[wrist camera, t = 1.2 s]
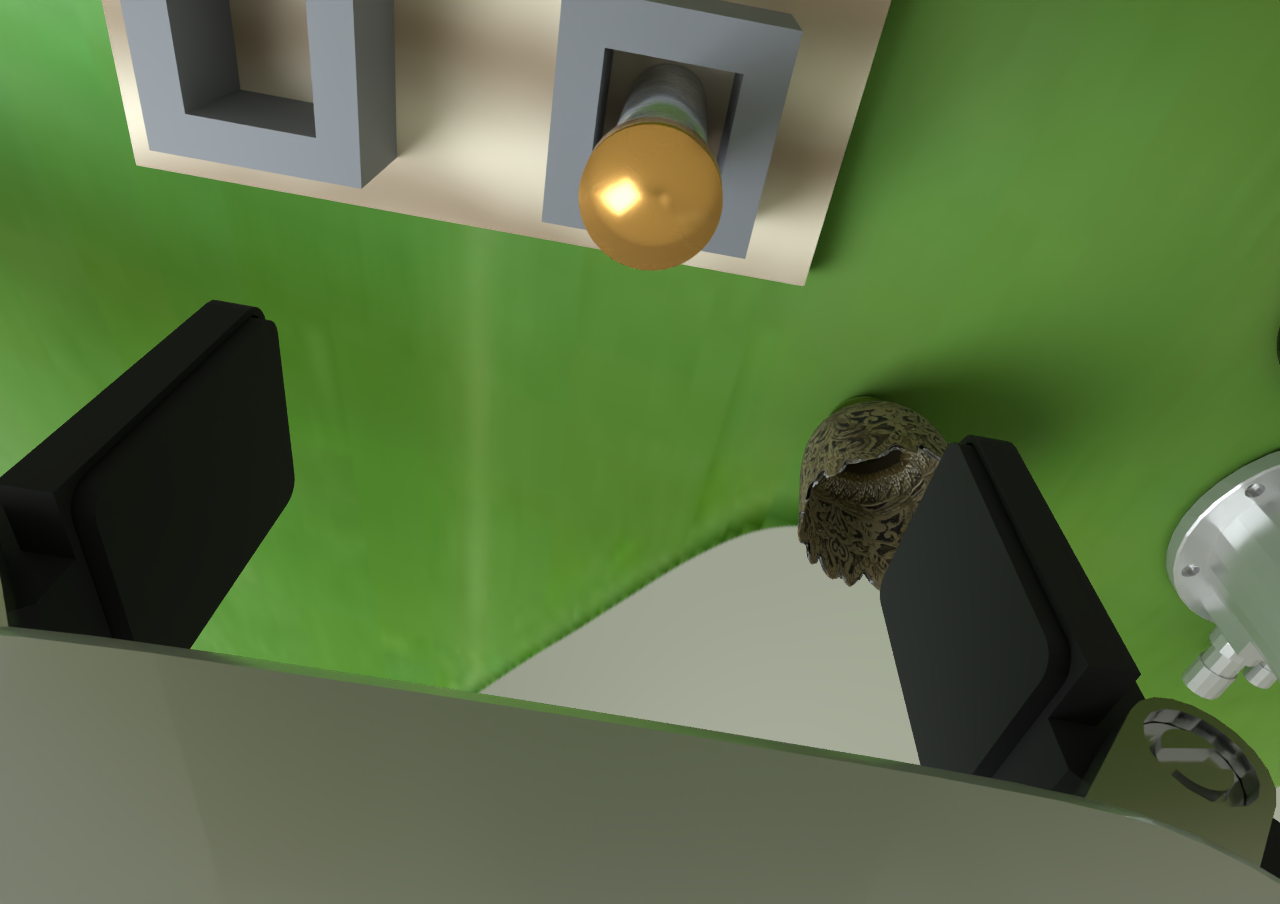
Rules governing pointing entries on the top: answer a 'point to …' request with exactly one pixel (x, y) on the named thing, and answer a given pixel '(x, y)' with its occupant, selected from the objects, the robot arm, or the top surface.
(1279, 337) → the ink bottle
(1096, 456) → the top surface
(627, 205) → the pin
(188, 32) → the dock socket
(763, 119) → the lock mount
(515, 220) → the dock board
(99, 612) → the robot arm
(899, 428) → the cup
